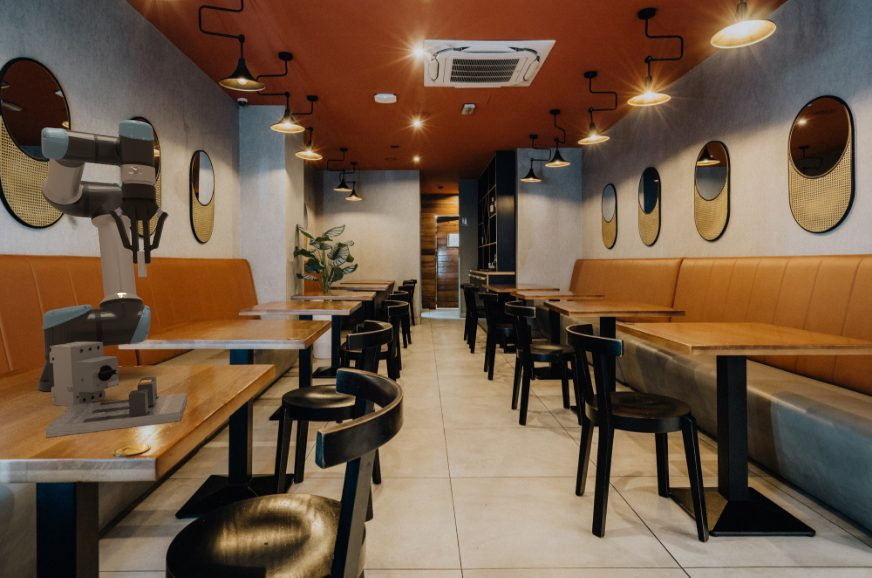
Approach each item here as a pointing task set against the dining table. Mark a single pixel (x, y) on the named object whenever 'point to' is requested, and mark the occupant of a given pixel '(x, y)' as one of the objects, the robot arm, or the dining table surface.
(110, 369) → the circuit breaker
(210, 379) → the dining table surface
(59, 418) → the breaker panel
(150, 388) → the toggle
